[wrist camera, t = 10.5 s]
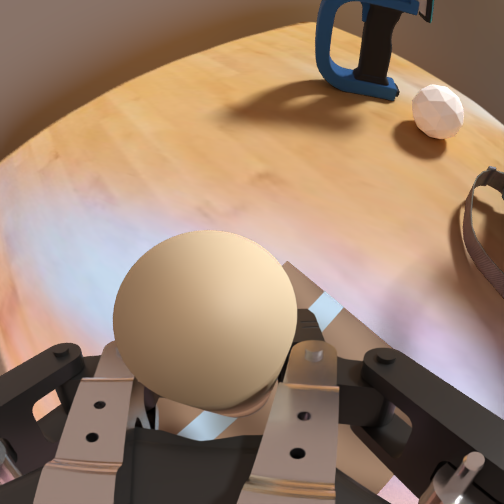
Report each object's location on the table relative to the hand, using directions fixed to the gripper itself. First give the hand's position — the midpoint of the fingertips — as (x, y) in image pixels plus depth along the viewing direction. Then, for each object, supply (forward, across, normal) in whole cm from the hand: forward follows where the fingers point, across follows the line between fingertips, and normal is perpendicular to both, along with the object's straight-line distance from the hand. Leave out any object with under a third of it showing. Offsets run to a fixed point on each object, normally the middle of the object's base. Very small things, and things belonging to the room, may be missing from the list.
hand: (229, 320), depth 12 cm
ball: (+30, -26, -12) cm, 42 cm away
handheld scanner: (+37, -18, -19) cm, 45 cm away
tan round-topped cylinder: (+2, 0, +5) cm, 5 cm away
